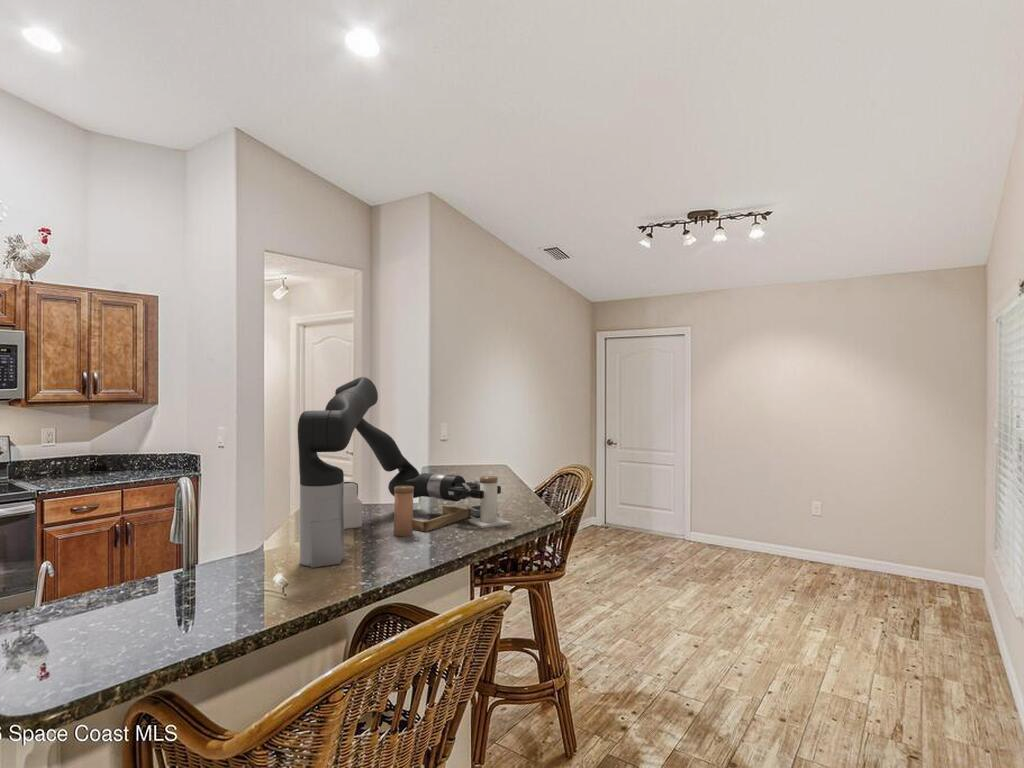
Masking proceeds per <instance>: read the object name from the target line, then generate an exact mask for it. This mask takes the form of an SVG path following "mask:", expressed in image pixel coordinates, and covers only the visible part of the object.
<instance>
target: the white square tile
mask: <svg viewBox="0 0 1024 768" xmlns="http://www.w3.org/2000/svg"><path fill="white" fill-rule="evenodd" d="M467 522H468V523H470V524H472V525H475V526H476V527H478V528H481V529H485V528H493V527H499V526H501V527H502V526H506V525H507V526H509V525H511V523H512V522H511V521H509V520H507V519H504V518H502V517H500V516H498V515H497V521H496V522H491V523H486V522H481V521H480V517H478V518H476V517H474V518H467Z"/></svg>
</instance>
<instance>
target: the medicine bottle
mask: <svg viewBox="0 0 1024 768" xmlns="http://www.w3.org/2000/svg"><path fill="white" fill-rule="evenodd" d="M343 482H344V530H350V529H356V528H357V529H359V528H362V527H363V502H362V500H360V499H359V498H358V497H359V485H358V483H356V482H353V481H343Z"/></svg>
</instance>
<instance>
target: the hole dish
mask: <svg viewBox="0 0 1024 768" xmlns="http://www.w3.org/2000/svg"><path fill="white" fill-rule="evenodd" d="M465 508H470V516H471V515H472V516H471V517H474V518H480V504H478V505H469V506H465Z"/></svg>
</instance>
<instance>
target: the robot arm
mask: <svg viewBox="0 0 1024 768" xmlns="http://www.w3.org/2000/svg"><path fill="white" fill-rule="evenodd" d="M334 392H335V393H334V395H333V397H332V398H330V399H329V401H328V402H327V403H326V406H325V408H324V410H305V411H303V412H302V413H300V415H299V418H298V422H297V445H298V446H297V447H298V464H299V466H298V468H299V470H298V471H299V563H300V564H301V565H302V566H304V567H305V566H306V567H310V568H312V569H314V568H319V567H327V566H332V565H340V564H341V563H342V561H343V560H344V559H345V558H344V557H345V554H344V553H345V548H344V547H345V541H344V538H345V535H344V534H345V533H344V532H345V531H344V530H345V529H344V482H345V480H344V479H345V478H344V476H345V475H344V474H345V473H344V470H343V469H342V468H341V467H337V466H336V465H332V464H330V463H328V462H326V461H324V460H322V458H320V457H319V456H318V453H337V452H341V451H342V452H343V451H344V450H345V449H346V448H347V447H348V445H349V443H350V441H351V439H352V436H353V433H354V431H355V429H356V431H357V432H358V433H359V434H360V435H361V437H363V440H365V442H366V443H367V444H368V446H369V447H370V448H371V451H372V452H373V453H374V455H375V457H376V460H378V462H379V465H380V466H381V467H382V469H383V470H384V471H385V472H388V473H389V472H393V471H396V470H397V471H398V472H397V473H396V474H395V476H393V478H392V479H391V480H390V481H389V482H388V491H389V493H390V494H391V495H392V496H393V497H394V498H395V492H394V487H395V486H403V485H407V486H413V487H414V492H413V499H417V498H420V497H423V498H424V497H425V498H426V497H427V498H432V499H436V500H441V501H450V502H459V501H461V500H466V499H479V500H480V499H483V498H484V491H483V490H480V481H466V480H465V478H464V477H463V476H462V475H456V474H448V473H428V472H427V473H426V472H424V473H423V472H422V473H420V472H419V470H418V469H417V468H416V467H415V466H414V465H412V463H411V462H410V461H409V460H408V459H407V458H406V457H405V456H404V455H403V454H402V452H401V450H400V448H399V447H398V444H397V443H396V441H395V439H393V437H392V436H391V435H389V434H388V433H387V432H385V431H383V430H381V429H379V428H378V427H376V426H374V425H373V424H371V423H369V422H368V421H367V420H366V419H365V418H364V416H365V415H366V413H367V412H368V411H369V409H370V408H371V407H373V406H374V405H376V404H377V402H378V398H379V393H378V389H377V386H376V385H375V384H374V382H373V381H372V380H371V379H370V378H368V377H365V376H360V377H358V378H355V379H353V380H351V381H349V382H346V383H344V384H342V385H341V386H339V387H337V388H336V389H335V391H334ZM501 493H502V487H501V485H497V495H499V494H501Z"/></svg>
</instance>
